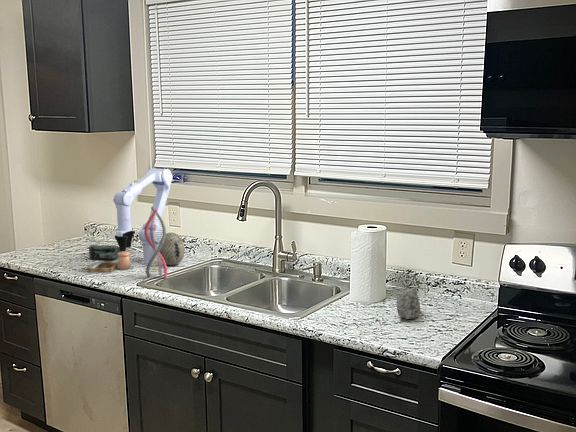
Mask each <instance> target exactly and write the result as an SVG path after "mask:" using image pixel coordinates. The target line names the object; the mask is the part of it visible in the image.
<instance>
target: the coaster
mask: <svg viewBox="0 0 576 432" xmlns="http://www.w3.org/2000/svg"><path fill="white" fill-rule="evenodd" d="M134 269H135V266H131V265H130V269H125V270H122V269H119V268H118V270H119V271H123V272H125V271H131V270H134Z"/></svg>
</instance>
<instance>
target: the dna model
mask: <svg viewBox="0 0 576 432" xmlns="http://www.w3.org/2000/svg"><path fill="white" fill-rule="evenodd" d="M150 209H151V210H153V213H152V215H151V217H150V218H149V217H148V220H147V221H146V223H147V224H146V226H145V229H144V230H145V231H144V232H145V233H144V234H145V237H146V239H147V241H148V243H149V244H150V245H151V247H152V248H153V249H154V250H155V253H154V255H153V256H152V258H151V260H150V261H149V263H147V264H146V268H145V274H146V277H147V278H150V277H156V278H163V279H167V278H168V266H167V264H166V262H165V260H164V258H163V256H162V255H161V254H160V252H159V251H160V250H161V248H162V246H163V243H164V241H165V237H166V234H167V230H166V229H167V228H166V225H165V222H164V220H163V218H161V216H160V215H159V214H158V210H157V209H154V207H152V206H151V207H150ZM155 215H156V216H157V217H156V216H155ZM154 217H156V218H159V219H156V218H154ZM154 219H156V220H160V221H156V222H160V227H162V228H160V229H163V230H158V231H162V232H153V230H155V229H152V228H157V227H153V226H158V225H153V224H150V223H154V222H153V221H155V220H154ZM154 224H158V223H154ZM149 225H151V226H149ZM148 227H150V228H151V229H148ZM148 230H150V231H148ZM148 233H150V234H148ZM152 233H162V234H152ZM148 235H151V236H150V237H149V236H148ZM153 235H162V236H153ZM154 237H162V238H157V239H162V240H159V241H161V242H160V245H156V246H159V247H156V246H155V244H154V242H158V241H153V240H157V239H153V238H154ZM150 238H152V239H150ZM151 240H152V242H151ZM156 244H158V243H156ZM156 248H158V249H156ZM157 255H158V256H157ZM156 256H157V257H158V258H157V257H156ZM155 258H157V259H158V260H156V259H155ZM159 258H160V259H159ZM153 260H156V261H158V262H156V263H158V264H154V263H152V262H155V261H153ZM160 260H162V261H160ZM160 262H162V263H160Z"/></svg>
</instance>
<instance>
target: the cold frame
mask: <svg viewBox="0 0 576 432" xmlns="http://www.w3.org/2000/svg"><path fill="white" fill-rule="evenodd" d="M85 269H86V270H88V273H104V274H105V273H106V274H107V273H109V274H110V273H113V272H114V271H115V270H117V269H119V261H104V260H95V261H94V262H92V263H90V264H89V265H88V266H86V267H85Z"/></svg>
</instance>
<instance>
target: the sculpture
mask: <svg viewBox="0 0 576 432" xmlns="http://www.w3.org/2000/svg"><path fill="white" fill-rule="evenodd" d="M119 252H123V251H120V248H119V245H111V244H110V245H107V244H106V245H104V244H102V245H97V244H91V245H90V246H89V247H88V254H89V255H88V258H89V260H91V261H92V260H95V259H101V260H102V259H106V260H109V261H115V260H117V259H119V256H118V253H119Z"/></svg>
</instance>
